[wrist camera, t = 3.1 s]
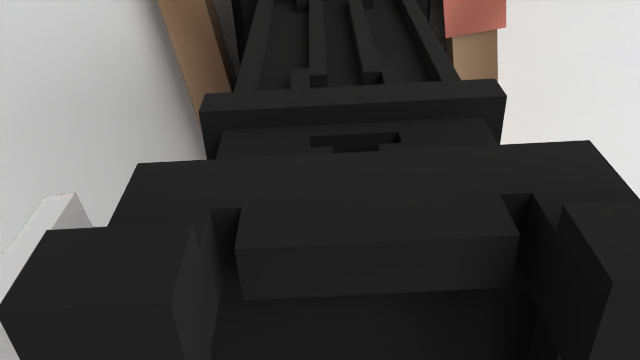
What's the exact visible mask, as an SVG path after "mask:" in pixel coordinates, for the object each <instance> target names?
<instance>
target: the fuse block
mask: <svg viewBox="0 0 640 360" xmlns="http://www.w3.org/2000/svg"><path fill="white" fill-rule="evenodd" d="M157 2H158V4H159V7H160V10H161V13H162V16H163V19H164V22H165V25H166V28H167V31H168V34H169V37H170V40H171V43H172V46H173V49H174V52H175V54H176V57H177V60H178V63H179V66H180V69H181V72H182V75H183V78H184V81H185V84H186V87H187V90H188V93H189V96H190V99H191V102H192V104H193V107H194V110H195V113H196V116H197V119H198V122H199V125H200V128H201V124H200V118H199V113H198V112H199V109H200V106H201V103H202V101H203V98H204V95H205V94H208V93H227V92H234V89H235V85H236V79H235V75H234V72H233V68H232V65H231V61H230V58H229V54H228V51H227V47H226V44H225V40H224V37H223V33H222V30H221V26H220V23H219V19H218V16H217V12H216V9H215V5H214V2H213V0H157ZM442 3H443V18H444V34H445V38H446V53H447V56H448V57H449V59H450V61H451V63H452V64H453V66H454V68H455V70H456V72H457V73H458V75H459V77H460V79H461V80H474V79H493V78H495V79H496V81H497V82H498V63H497V29H500V28H505V27H506V0H442ZM201 131H202V129H201Z"/></svg>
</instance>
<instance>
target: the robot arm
mask: <svg viewBox="0 0 640 360" xmlns="http://www.w3.org/2000/svg"><path fill="white" fill-rule="evenodd" d="M74 228H93V226H92V224H91V222H90V220H89V218H88V216H87V215H86V213H85V211H84V209H83V207H82V205H81V203H80V201H79V199H78V197H77V195H76V193H75V192H73V193H67V194H61V195H55V196H48V197H44V198H43V200H42V201H41V203H40V204H39V205H38V207H37V208H36V209H35V211H34V212H33V214H32V215H31V216H30V218H29V219H28V221H27V222H26V223H25V225H24V226H23V227H22V229H21V230H20V232H19V233H18V234H17V236H16V237H15V239H14V240H13V241H12V243H11V244H10V245H9V247H8V248H7V250H6V251H5V252H4V254H3V255H2V257H1V258H0V303H1V302H2V300H3V298H4V297H5V295H6V294H7V292H8V290H9V289H10V287H11V286H12V284H13V282H14V281H15V279H16V278H17V276H18V274H19V273H20V271H21V270H22V268H23V267H24V265H25V263H26V262H27V260H28V259H29V257H30V255H31V254H32V252H33V251H34V249H35V247H36V246H37V244H38V243H39V241H40V239H41V238H42V236H43V235H44V233H45V231H46V230H54V229H74ZM0 360H20V359H19V357H18V355H17V353H16V351H15V349H14V347H13V345H12V343H11V342H10V340H9V338H8V336H7V334H6V332H5V330H4V328H3V326H2V324H1V322H0Z"/></svg>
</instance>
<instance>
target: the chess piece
mask: <svg viewBox="0 0 640 360" xmlns="http://www.w3.org/2000/svg"><path fill="white" fill-rule="evenodd" d="M231 2H232V9H233V17H234V24H235V32H236V39H237V47H238V54H239V61H240V70H239V74H238V78H237V81H236V85H235V89H234V92H227V93H208V94H205V95H204V98H203V101H202V103H201V106H200V109H199V112H198V113H199V118H200V124H201V129H202V134H203V140H204V145H205V151H206V156H207V160H193V161H174V162H154V163H138V164H137V166H136V168H135V171H134V173H133V175H132V177H131V179H130V181H129V183H128V185H127V187H126V189H125V191H124V193H123V195H122V197H121V199H120V201H119V203H118V205H117V208H116V210H115V212H114V214H113V216H112V218H111V220H110V222H109V224H108V226H107V227H94V228H74V229H54V230H46V231H45V233H44V235H43V236H42V238H41V239H40V241H39V243H38V244H37V246H36V247H35V249H34V251H33V252H32V254H31V255H30V257H29V259H28V260H27V262H26V263H25V265H24V267H23V268H22V270H21V271H20V273H19V274H18V276H17V278H16V279H15V281H14V282H13V284H12V286H11V287H10V289H9V290H8V292H7V294H6V295H5V297H4V298H3V300H2V302H1V303H0V322H1V324H2V326H3V328H4V330H5V332H6V334H7V336H8V338H9V340H10V342H11V343H12V345H13V347H14V349H15V351H16V353H17V355H18V357H19V359H20V360H640V199H639V198H638V196H637V195H636V194H635V193H634V192H633V191H632V189H631V188H630V187H629V186H628V185H627V184H626V182H625V181H624V180H623V179H622V178H621V177H620V175H619V174H618V173H617V172H616V171H615V170H614V168H613V167H612V166H611V165H610V164H609V163H608V161H607V160H606V159H605V158H604V157H603V156H602V154H601V153H600V152H599V151H598V150H597V149H596V147H595V146H594V145H593V144H592V143H591V142H590V140H585V141H565V142H546V143H526V144H507V145H500V141H501V134H502V127H503V120H504V113H505V106H506V99H507V95H506V94H505V92H504V91H503V90H502V88H501V87H500V85H499V84H498V82H497V81H496V79H495V78H493V79H474V80H461V79H460V77H459V75H458V73H457V72H456V70H455V68H454V66H453V64H452V63H451V61H450V59H449V57H448V56H447V54H446V52H445V50H444V49H443V47H442V45H441V43H440V42H439V40H438V38H437V36H436V35H435V33H434V31H433V29H432V28H431V26H430V24H429V16H430V0H231Z"/></svg>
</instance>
